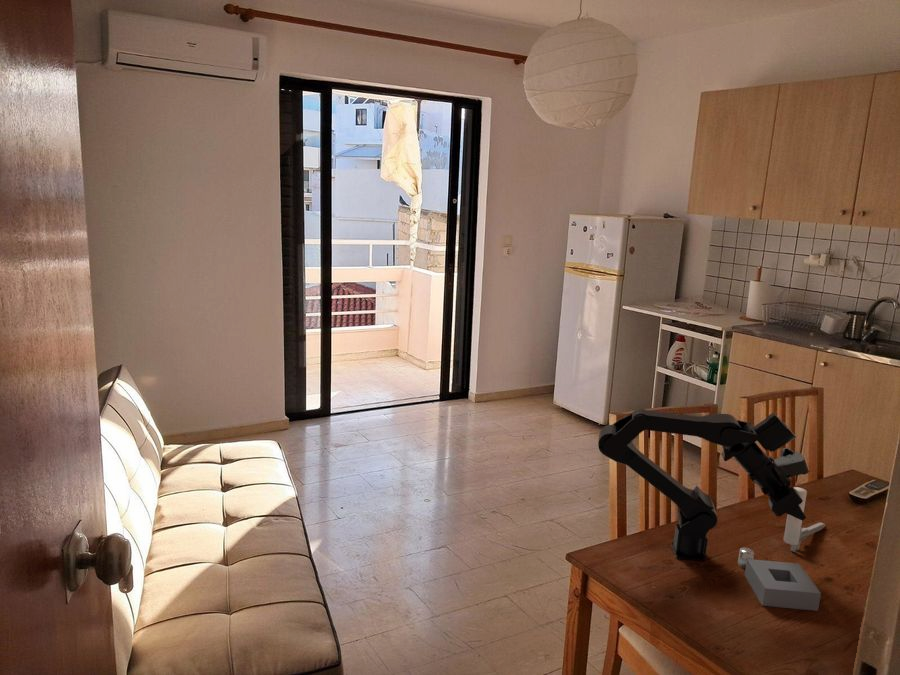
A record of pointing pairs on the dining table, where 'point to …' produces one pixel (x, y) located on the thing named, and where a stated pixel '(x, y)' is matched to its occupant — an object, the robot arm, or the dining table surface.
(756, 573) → the hole block
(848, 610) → the dining table surface
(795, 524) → the ivory pin
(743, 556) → the short stub
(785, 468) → the robot arm
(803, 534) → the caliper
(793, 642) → the dining table surface
